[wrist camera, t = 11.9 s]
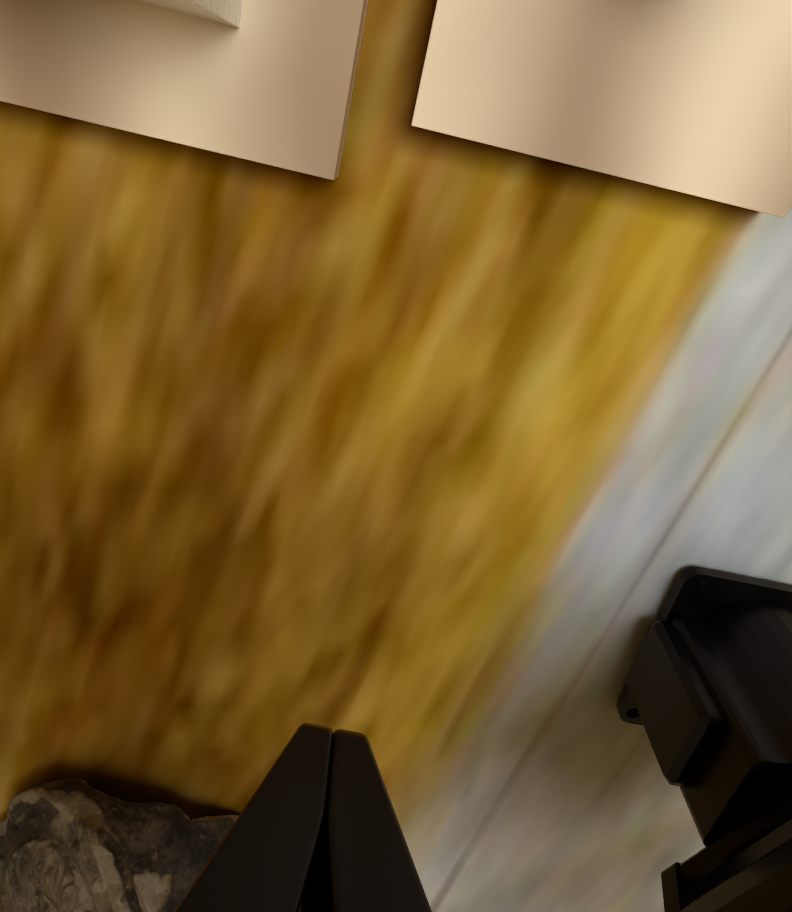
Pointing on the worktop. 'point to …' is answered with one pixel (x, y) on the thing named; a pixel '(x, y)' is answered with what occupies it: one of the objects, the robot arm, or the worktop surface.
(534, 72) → the stand
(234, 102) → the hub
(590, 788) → the worktop surface
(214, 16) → the collar
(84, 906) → the carved stone fragment
